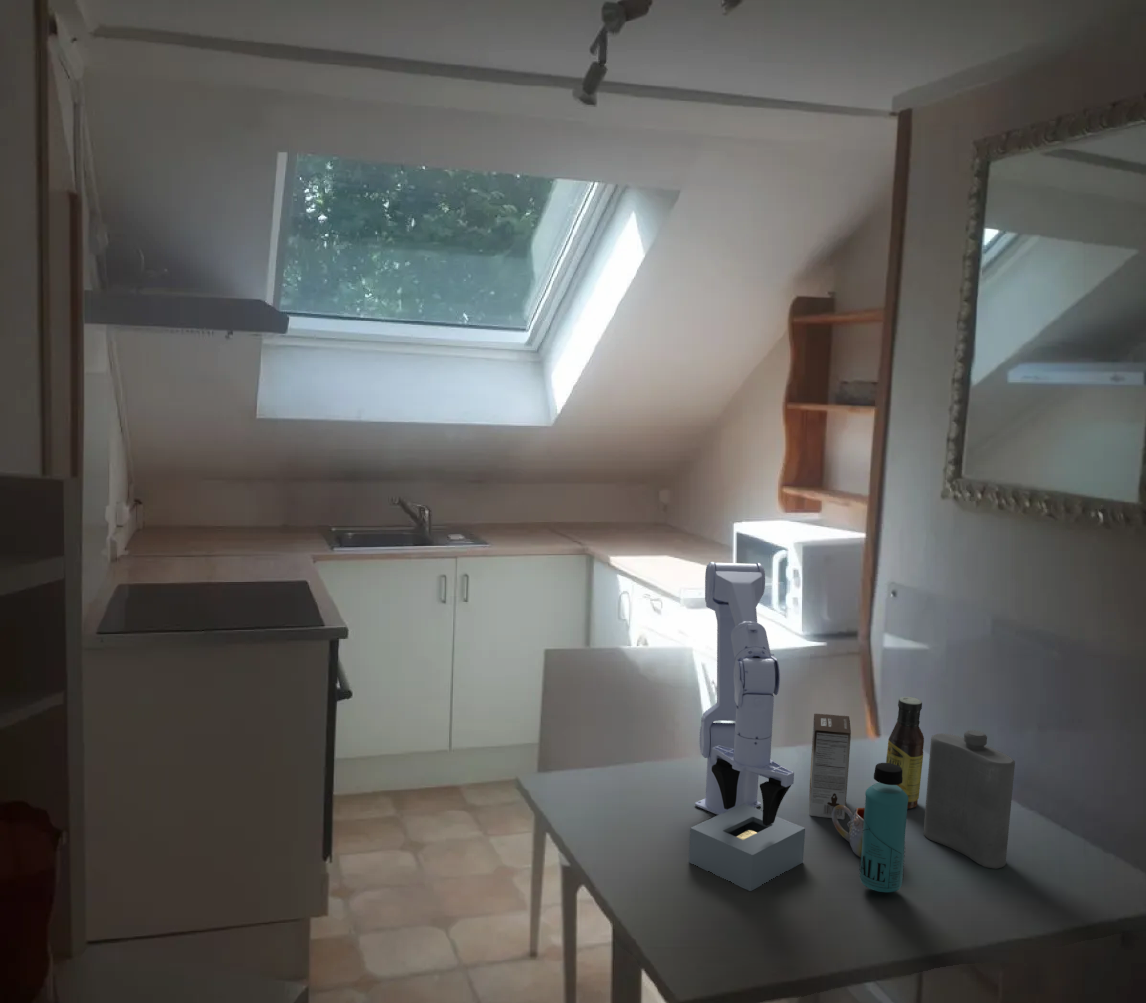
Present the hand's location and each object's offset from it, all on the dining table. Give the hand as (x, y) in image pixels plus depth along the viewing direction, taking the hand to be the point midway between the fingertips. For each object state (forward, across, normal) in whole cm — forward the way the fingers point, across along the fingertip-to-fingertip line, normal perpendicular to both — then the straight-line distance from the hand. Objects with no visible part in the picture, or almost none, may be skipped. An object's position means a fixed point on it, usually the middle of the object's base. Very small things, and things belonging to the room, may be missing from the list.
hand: (748, 815), depth 165 cm
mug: (+8, +9, +19) cm, 23 cm away
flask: (+8, +21, +32) cm, 39 cm away
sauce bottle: (+8, +5, +40) cm, 41 cm away
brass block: (+7, 0, 0) cm, 7 cm away
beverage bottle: (+8, +19, +8) cm, 22 cm away
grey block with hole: (+8, 0, 0) cm, 8 cm away
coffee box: (+8, -3, +28) cm, 29 cm away
